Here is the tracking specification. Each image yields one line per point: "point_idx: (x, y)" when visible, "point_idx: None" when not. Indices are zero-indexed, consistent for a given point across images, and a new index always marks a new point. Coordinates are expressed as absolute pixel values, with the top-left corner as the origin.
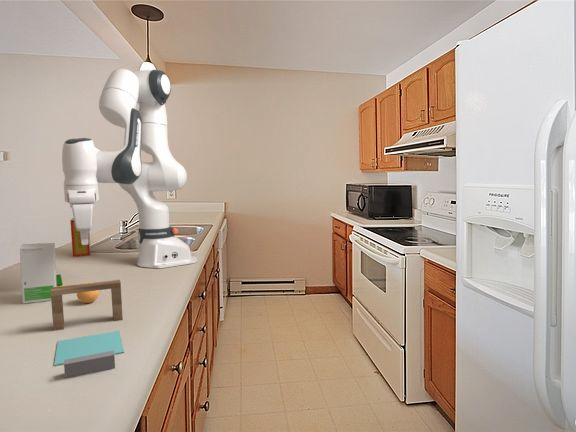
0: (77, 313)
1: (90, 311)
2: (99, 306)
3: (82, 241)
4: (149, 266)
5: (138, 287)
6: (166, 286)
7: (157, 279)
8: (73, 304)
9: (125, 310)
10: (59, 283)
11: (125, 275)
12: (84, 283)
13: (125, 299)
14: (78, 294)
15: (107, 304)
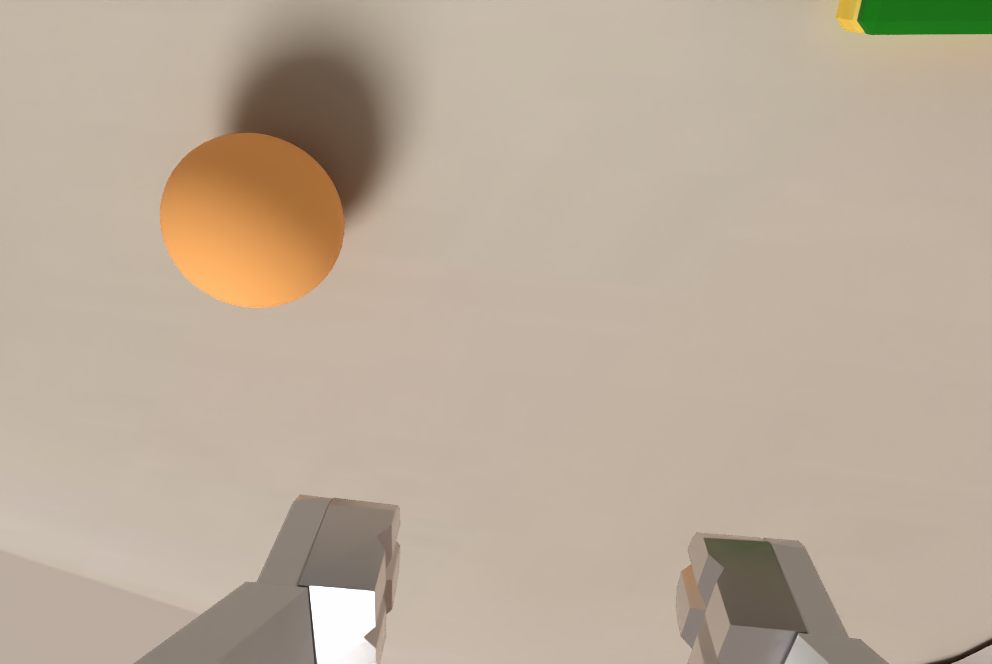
0: (36, 99)
1: (60, 185)
2: (159, 250)
3: (283, 550)
4: (980, 659)
5: (501, 506)
6: (431, 612)
7: (624, 615)
8: (280, 88)
9: (27, 365)
10: (894, 1)
11: (900, 505)
12: (218, 230)
13: (258, 402)
14: (195, 148)
15: (187, 298)
